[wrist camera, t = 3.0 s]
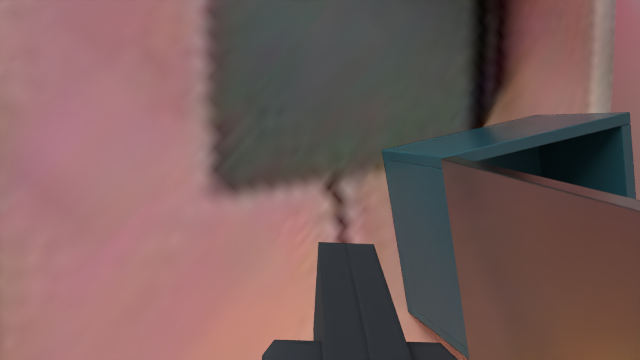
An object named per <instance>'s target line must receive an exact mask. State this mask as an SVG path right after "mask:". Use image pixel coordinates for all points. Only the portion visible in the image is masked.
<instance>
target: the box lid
mask: <svg viewBox="0 0 640 360" xmlns="http://www.w3.org/2000/svg"><path fill="white" fill-rule="evenodd" d="M441 162H442V169H443V176H444V183H445V190H446V197H447V204H448V211H449V218H450V225H451V232H452V240H453V247H454V254H455V261H456V268H457V275H458V282H459V289H460V296H461V303H462V310H463V317H464V324H465V331H466V338H467V345H468V352H469V359H470V360H640V200H637V199H632V198H628V197H624V196H620V195H616V194H611V193H607V192H603V191H599V190H594V189H590V188H586V187H582V186H577V185H573V184H569V183H565V182H561V181H556V180H552V179H548V178H544V177H539V176H535V175H531V174H527V173H522V172H518V171H514V170H510V169H506V168H501V167H497V166H493V165H489V164H484V163H480V162H476V161H472V160H467V159H463V158H459V157H455V156H451V157H446V158H442V159H441Z"/></svg>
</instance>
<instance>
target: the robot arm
mask: <svg viewBox="0 0 640 360" xmlns="http://www.w3.org/2000/svg"><path fill="white" fill-rule="evenodd" d="M313 331H314V341H300V340H274V341H273V342H272V344H271V345H270V346H269V347H268V349H267V350H266V351H265V353H264V354H263V355H262V360H457V358H456V357H455V356H453V355H452V354H451V353H450V352H449V351H448V350H447V349H446V348H445V347H444V346H443V345H442V344H441V343H426V342H406V340H405V337H404V334H403V331H402V328H401V325H400V322H399V319H398V316H397V313H396V310H395V307H394V304H393V301H392V298H391V295H390V292H389V289H388V286H387V283H386V280H385V277H384V274H383V271H382V268H381V265H380V262H379V259H378V256H377V253H376V250H375V247H374V244H351V243H325V242H319V246H318V262H317V279H316V296H315V312H314V329H313Z"/></svg>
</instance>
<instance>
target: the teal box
mask: <svg viewBox="0 0 640 360" xmlns="http://www.w3.org/2000/svg"><path fill="white" fill-rule="evenodd" d="M382 153H383V159H384V166H385V172H386V178H387V184H388V190H389V196H390V202H391V209H392V215H393V221H394V227H395V233H396V239H397V245H398V252H399V258H400V264H401V270H402V276H403V282H404V288H405V295H406V301H407V307H408V312H409V313H410V314H412V315H413V316H414V317H416V318H417V319H418V320H419V321H421V322H422V323H423V324H424V325H426V326H427V327H428V328H430V329H431V330H432V331H433V332H435V333H436V334H437V335H438V336H440V337H441V338H442V339H443V340H445V341H446V342H447V343H448V344H450V345H451V346H452V347H454V348H455V349H456V350H457V351H459V352H460V353H461V354H462V355H464V356H465V357H466V358H467V359H469V352H468V345H467V338H466V331H465V324H464V317H463V310H462V303H461V296H460V289H459V282H458V275H457V268H456V261H455V254H454V247H453V240H452V232H451V225H450V218H449V211H448V204H447V197H446V190H445V183H444V176H443V169H442V162H441V159H442V158H446V157H451V156H455V157H459V158H463V159H467V160H472V161H476V162H480V163H484V164H489V165H493V166H497V167H501V168H506V169H510V170H514V171H518V172H522V173H527V174H531V175H535V176H539V177H544V178H548V179H552V180H556V181H561V182H565V183H569V184H573V185H577V186H582V187H586V188H590V189H594V190H599V191H603V192H607V193H611V194H616V195H620V196H624V197H628V198H632V199H636V192H635V179H634V165H633V152H632V138H631V125H630V113H629V112H620V113H588V114H556V115H534V116H530V117H525V118H521V119H516V120H512V121H508V122H503V123H499V124H494V125H490V126H485V127H481V128H476V129H472V130H468V131H463V132H459V133H454V134H450V135H445V136H441V137H436V138H432V139H428V140H423V141H419V142H414V143H410V144H405V145H401V146H397V147H392V148H388V149H383V150H382ZM469 360H470V359H469Z"/></svg>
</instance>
